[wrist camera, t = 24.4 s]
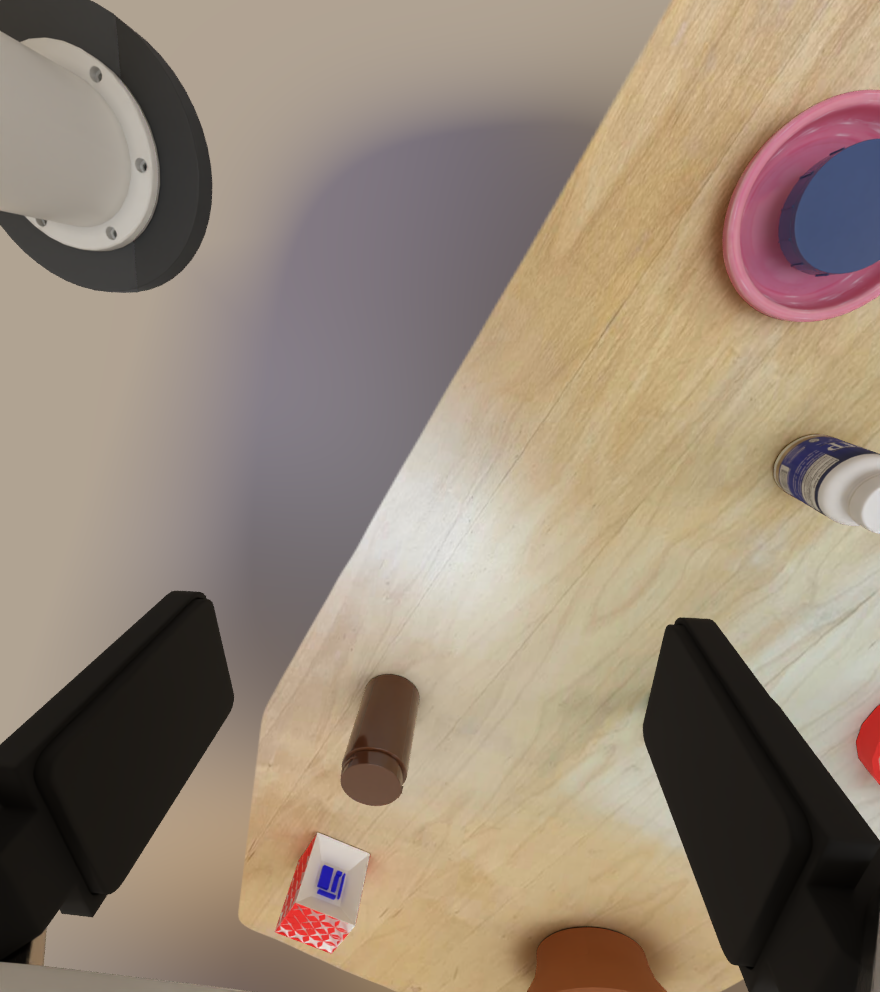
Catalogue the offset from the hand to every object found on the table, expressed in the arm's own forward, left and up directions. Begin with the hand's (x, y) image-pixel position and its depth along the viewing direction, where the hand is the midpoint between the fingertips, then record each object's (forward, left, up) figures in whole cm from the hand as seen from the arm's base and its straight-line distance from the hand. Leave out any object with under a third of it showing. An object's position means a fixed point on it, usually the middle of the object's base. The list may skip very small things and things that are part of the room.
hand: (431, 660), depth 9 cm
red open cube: (-6, -66, -31) cm, 73 cm away
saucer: (+20, +16, -31) cm, 40 cm away
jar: (-2, -34, -30) cm, 46 cm away
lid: (+20, +16, -26) cm, 36 cm away
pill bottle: (+28, 0, -31) cm, 41 cm away
